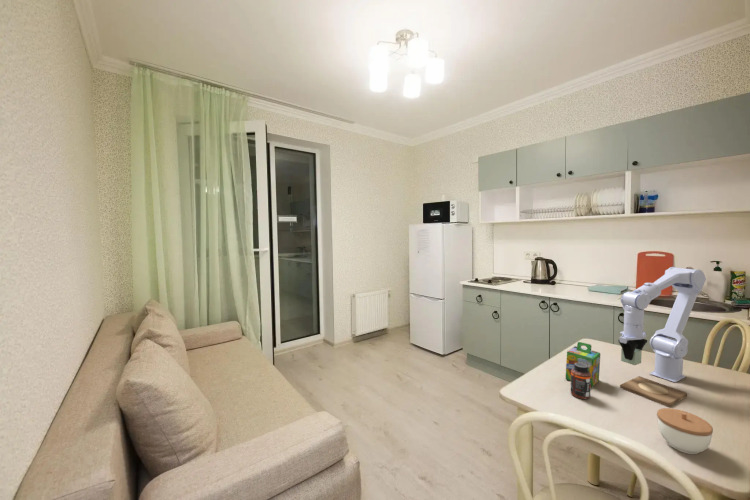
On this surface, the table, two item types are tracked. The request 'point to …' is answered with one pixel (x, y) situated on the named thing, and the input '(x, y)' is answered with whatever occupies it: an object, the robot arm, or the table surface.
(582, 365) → the supplement bottle
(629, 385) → the rest board
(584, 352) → the chalk box
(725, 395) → the table surface
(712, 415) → the table surface
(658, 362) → the robot arm
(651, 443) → the table surface
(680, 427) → the lidded jar
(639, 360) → the block
